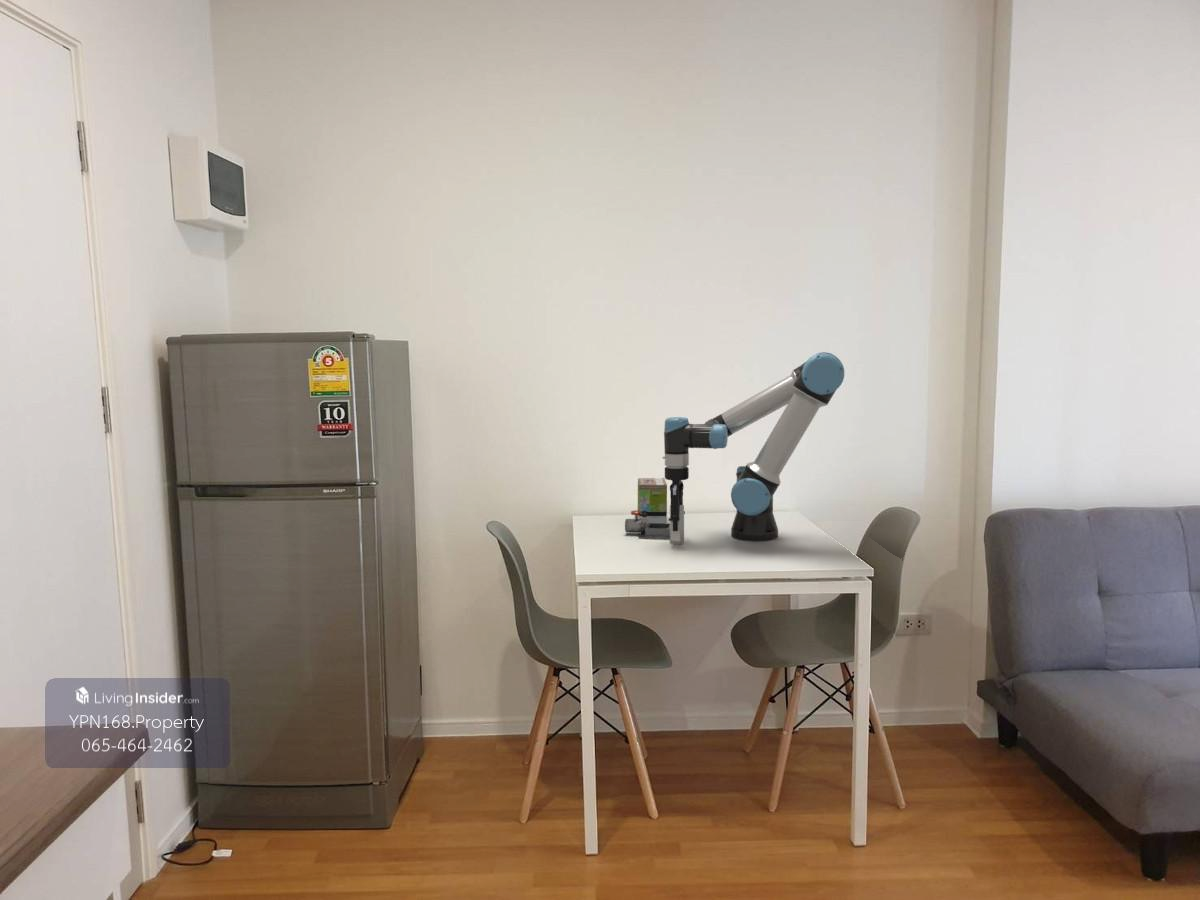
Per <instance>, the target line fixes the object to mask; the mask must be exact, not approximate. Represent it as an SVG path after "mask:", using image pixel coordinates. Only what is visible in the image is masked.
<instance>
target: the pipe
mask: <svg viewBox="0 0 1200 900" xmlns="http://www.w3.org/2000/svg"><path fill="white" fill-rule="evenodd" d="M684 511H685V505H684V504H683V505H680V513H679V518H680V541H671V521H669V524H670V540H669V544H671V545H683V544H685V514H684ZM670 517H671V504H670V505H669V518H670Z"/></svg>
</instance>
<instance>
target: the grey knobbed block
mask: <svg viewBox="0 0 1200 900" xmlns="http://www.w3.org/2000/svg"><path fill="white" fill-rule="evenodd" d="M630 514H631V515H632V516H634V518H626V519H625V521H624V532H625V533H631V534H633V533H636V534H639V535H638V538H637V539H639V540H642V539H643V540H669V541H670V523H648V520H647V519H638V515H641V514H642V511H638V509H637V510H631V511H630Z"/></svg>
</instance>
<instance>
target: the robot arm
mask: <svg viewBox="0 0 1200 900" xmlns="http://www.w3.org/2000/svg"><path fill="white" fill-rule="evenodd" d="M844 378H845V367H844V365H843V363H842V361H841V360H840V359H839V358H838V357H837V356H836V355H834V354H833V353H831V352H823V351H822V352H817V353H815V354H813V355H811V356H810V357H809V358H808V359H807V360H806V361H805V362H803V363H802V364H801V365H799V366H797V367H796V368H794V369H792V371H791V374H790V375H789V376H786V377H785V378H783V379H781V380H779V381H778V382H775V383H774V384H772V385H770V386H768V387H767V388H765V389H763V390H761V391H760V392H758V393H756V394H754V395H752V396H751V397H749V398H747V399H746V400H744V401H742V402H740V403H738V404H736V405H734V406H733V407H731V408H729V409H728V410H725V411H724V412H722V413H721V414H718V415H717V416H715V417H713V418H710V419H708V420H707V421H705V423H700V424H699V423H690V422H689V419H688V417H682V416H673V417H671V416H670V417H667V418H666V419H664V431H663V439H664V455H663V456H662V459H663V460H664V466H665V467H664V478H665V480H668V481H671V484H670V485H669V491H670V505H671V517H670V516H669V518H668V521H669V522H670V521H671V541H680V518H679V513H680V505H684V499H683V497H684V488H685V487H684V482H683V481H686V480H688V479H689V473H690V472H689V471H690V470H689V467H688V466H689V465H690V462H689V461H690V457H689V456H690V455H689V454H690V453H689V452H690V451H689V449H713V450H716V449H725V448H726V447H727V445H728V437H730V436H732V435H734V434H735V433H737V432H739V431H741V430H743V429H744V428H746V427H748V426H750V425H752V424H754V423H756V422H758V421H759V420H761V419H763V418H765V417H767V416H768V415H770V414H772V413H774V412H776V411H778V410H780V409H781V408H783V407H785V409H784V410H783V411H782V414H781V416H780V417H779V419H778V421H777V422H776V423H775V426H774V427H773V428H772V431H771V432H770V434H769V435H768V437H767V439H766V440H765V442H764V445H763V446H762V448H761V449H760V451H759V453H758V454H757V456H756V458H755V460H753V461H751V462H748V463H746V465H745V466H744V465H743V466H742V465H739V466H738V467H737V468H736V472H735V476H736V482H735V483H734V485H733V486H732V488H731V492H730V498H731V503H732V504H733V507H734V508H735V509H736V513H735V516H734V519H733V522H732V525H731V529H730V536H731V537H732V538H733V539H734V538H735V539H737V540H742V541H750V542H762V541H763V542H766V541H772V540H775V539H777V538H778V537H779V528H778V525H777V522H776V519H775V516H774V495H775V493H776V492H777V490H778V488H779V487H780V485H781V479H780V475H781V473H782V471H783V470H784V468H785V466H786V465H787V463H788V461H789V460H790V458H791V457H792V455H793V453H794V452H795V450H796V448H797V446H798V444H799V443H800V442H801V440H802V438H803V436H804V434H805V433H806V431H807V430H808V428H809V426H810V425H811V423H812V421H813V419H814V418H815V416H816V414H817V413H818V411H819V409H820V408H822V407H825V406H828V405H829V403H830V401H831V399H832V398H833V396H834V394H835V393H836V391H837V390H838V389H839V388H840V387H841V385H842V384H843V382H844ZM685 514H686V513H685V510H684V515H685Z"/></svg>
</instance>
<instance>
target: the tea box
mask: <svg viewBox="0 0 1200 900" xmlns="http://www.w3.org/2000/svg"><path fill="white" fill-rule="evenodd" d="M637 510H638V511H642V514H641V515H638V519H647V520H648V523H667V522H668V484H667V482H666V479H665V477H645V478H644V477H640V478H637ZM667 524H668V523H667Z"/></svg>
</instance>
